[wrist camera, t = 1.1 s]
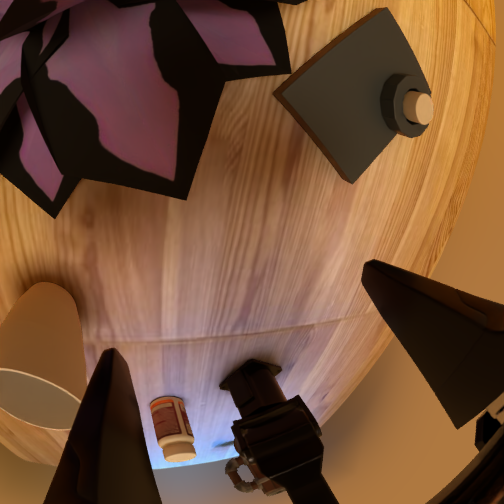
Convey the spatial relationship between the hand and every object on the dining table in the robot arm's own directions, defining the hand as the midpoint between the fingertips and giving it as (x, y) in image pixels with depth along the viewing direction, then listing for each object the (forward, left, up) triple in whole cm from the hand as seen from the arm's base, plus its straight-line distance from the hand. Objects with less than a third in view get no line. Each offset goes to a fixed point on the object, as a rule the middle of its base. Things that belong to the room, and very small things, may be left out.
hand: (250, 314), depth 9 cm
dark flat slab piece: (-5, -16, -12) cm, 21 cm away
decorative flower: (+17, -7, -13) cm, 22 cm away
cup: (+4, +15, -13) cm, 20 cm away
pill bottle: (-15, +25, -13) cm, 32 cm away
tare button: (-8, -18, -10) cm, 22 cm away
